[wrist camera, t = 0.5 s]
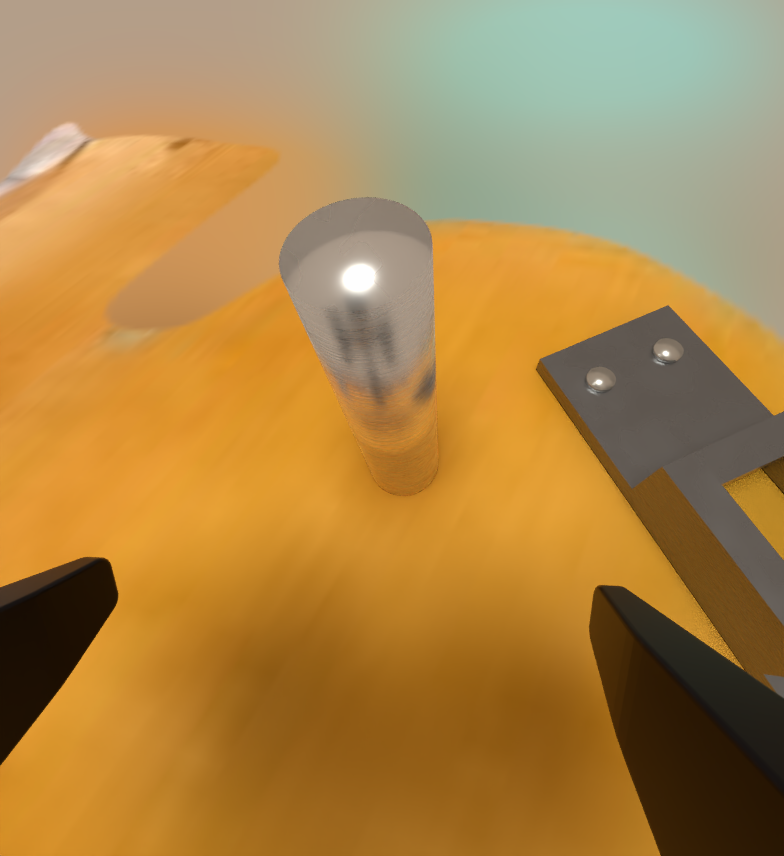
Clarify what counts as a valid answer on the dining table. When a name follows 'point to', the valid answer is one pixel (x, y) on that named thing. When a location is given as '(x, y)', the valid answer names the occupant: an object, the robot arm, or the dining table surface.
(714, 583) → the grey socket base plate
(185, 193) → the dining table surface
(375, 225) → the pin
